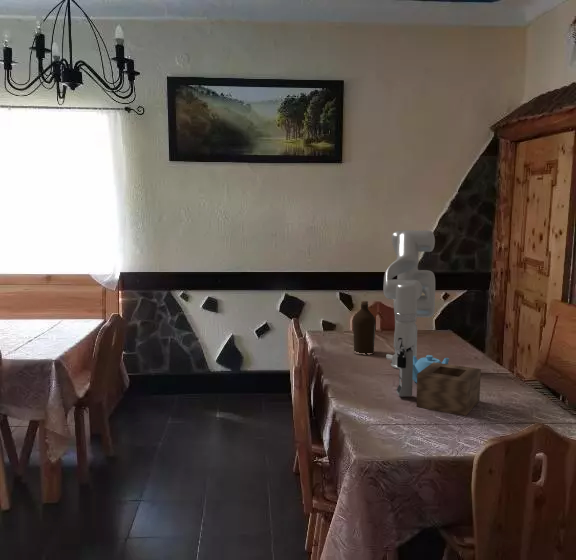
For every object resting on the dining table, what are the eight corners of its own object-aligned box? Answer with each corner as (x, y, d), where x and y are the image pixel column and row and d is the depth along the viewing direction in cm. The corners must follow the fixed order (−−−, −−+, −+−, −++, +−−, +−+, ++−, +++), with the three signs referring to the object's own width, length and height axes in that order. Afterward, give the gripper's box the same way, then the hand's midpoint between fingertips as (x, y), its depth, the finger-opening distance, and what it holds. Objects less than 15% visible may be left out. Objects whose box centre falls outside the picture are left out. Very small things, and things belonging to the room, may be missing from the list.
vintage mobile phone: (396, 393, 224) (397, 328, 220) (409, 392, 224) (410, 327, 220) (398, 396, 220) (400, 330, 216) (412, 396, 221) (413, 330, 217)
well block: (416, 406, 212) (417, 373, 211) (432, 392, 227) (433, 362, 225) (465, 415, 203) (467, 381, 201) (479, 401, 218) (480, 369, 216)
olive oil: (356, 356, 279) (357, 303, 276) (349, 350, 290) (350, 300, 286) (378, 355, 282) (379, 302, 278) (370, 349, 292) (371, 299, 289)
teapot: (407, 385, 236) (407, 359, 235) (410, 374, 250) (411, 349, 249) (447, 389, 232) (447, 362, 230) (448, 377, 246) (449, 352, 245)
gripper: (404, 311, 227) (403, 358, 230) (386, 320, 213) (386, 369, 215) (423, 313, 223) (422, 360, 226) (407, 322, 209) (405, 372, 211)
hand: (404, 364), depth 221 cm, fingers closed on vintage mobile phone, 5 cm apart
